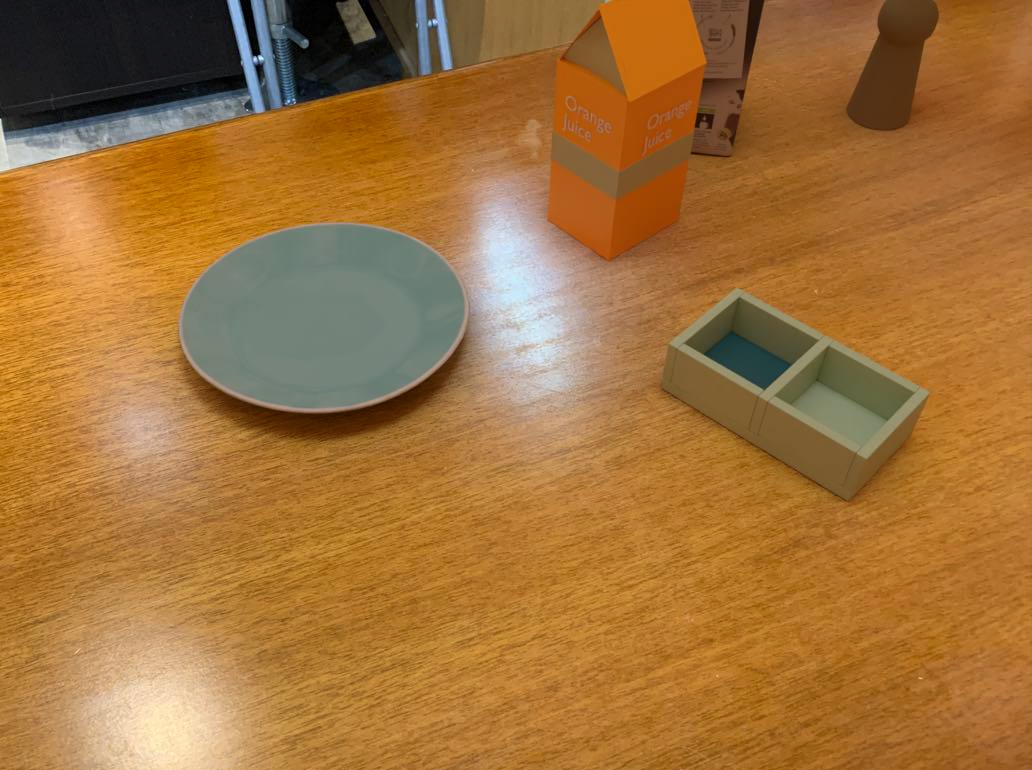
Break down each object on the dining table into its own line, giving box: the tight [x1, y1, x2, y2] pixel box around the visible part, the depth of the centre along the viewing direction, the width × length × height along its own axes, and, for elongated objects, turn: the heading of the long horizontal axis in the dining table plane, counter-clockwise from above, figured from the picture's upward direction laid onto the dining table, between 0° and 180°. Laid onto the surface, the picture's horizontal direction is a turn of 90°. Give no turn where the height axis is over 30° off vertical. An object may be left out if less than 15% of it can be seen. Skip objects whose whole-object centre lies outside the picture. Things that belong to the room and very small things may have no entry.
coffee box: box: [689, 0, 765, 157], centre depth 97 cm, size 9×6×16 cm
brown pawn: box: [845, 0, 940, 131], centre depth 101 cm, size 6×6×11 cm
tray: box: [660, 287, 931, 503], centre depth 79 cm, size 16×9×4 cm, turn 47°
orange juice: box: [547, 0, 707, 262], centre depth 87 cm, size 8×9×20 cm
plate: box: [177, 221, 471, 414], centre depth 84 cm, size 22×22×3 cm
